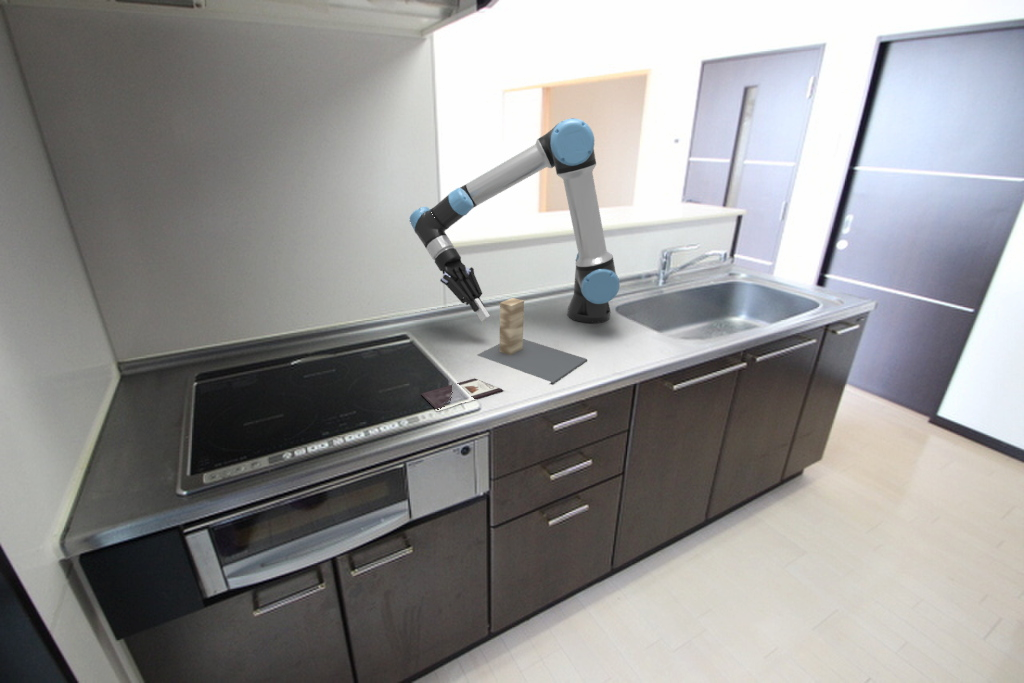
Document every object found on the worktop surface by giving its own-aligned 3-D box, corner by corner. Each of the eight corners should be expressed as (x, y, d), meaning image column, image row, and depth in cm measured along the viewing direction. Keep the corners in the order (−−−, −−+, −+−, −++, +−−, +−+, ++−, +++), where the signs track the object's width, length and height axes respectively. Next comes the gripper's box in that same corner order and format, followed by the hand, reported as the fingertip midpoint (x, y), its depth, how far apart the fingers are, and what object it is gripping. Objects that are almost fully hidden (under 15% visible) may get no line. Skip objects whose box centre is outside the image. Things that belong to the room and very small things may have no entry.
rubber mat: (476, 356, 137) (476, 354, 137) (514, 337, 150) (514, 336, 150) (552, 384, 123) (553, 382, 123) (587, 360, 136) (587, 359, 136)
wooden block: (499, 351, 139) (499, 302, 133) (511, 345, 144) (512, 297, 138) (510, 355, 137) (511, 305, 131) (522, 348, 142) (524, 300, 136)
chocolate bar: (420, 393, 116) (484, 375, 126) (421, 396, 117) (484, 378, 126) (436, 409, 110) (502, 389, 119) (436, 413, 110) (502, 393, 119)
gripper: (453, 257, 152) (492, 319, 150) (422, 265, 142) (464, 330, 140) (465, 243, 147) (506, 307, 145) (434, 250, 137) (478, 318, 135)
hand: (485, 318), depth 142 cm, fingers closed
